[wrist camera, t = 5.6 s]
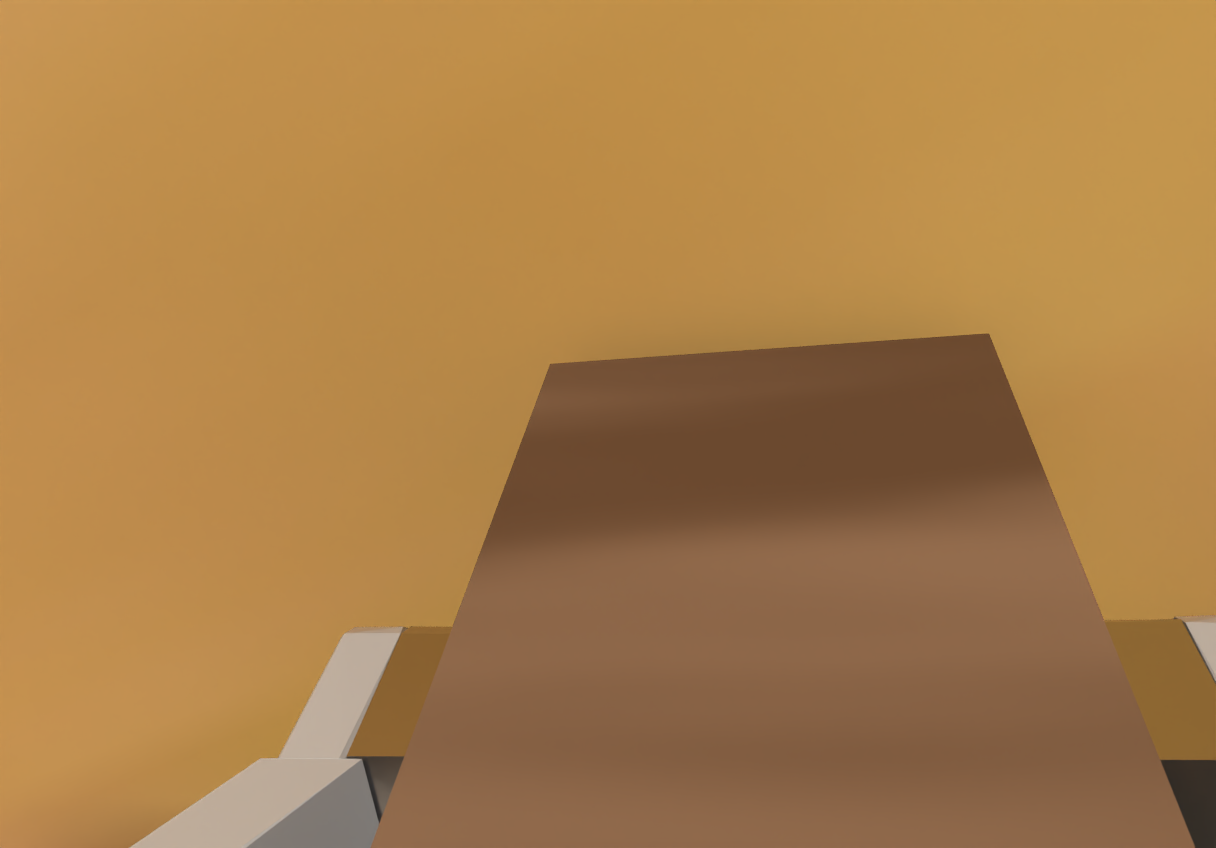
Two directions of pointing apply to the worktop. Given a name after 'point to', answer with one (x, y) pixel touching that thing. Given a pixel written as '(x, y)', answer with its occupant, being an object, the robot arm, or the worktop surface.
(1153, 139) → the worktop surface
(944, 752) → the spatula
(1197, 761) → the robot arm
